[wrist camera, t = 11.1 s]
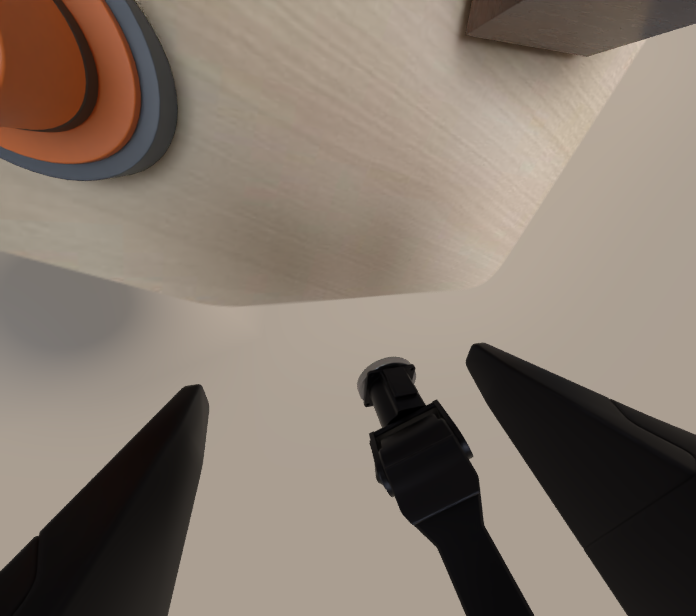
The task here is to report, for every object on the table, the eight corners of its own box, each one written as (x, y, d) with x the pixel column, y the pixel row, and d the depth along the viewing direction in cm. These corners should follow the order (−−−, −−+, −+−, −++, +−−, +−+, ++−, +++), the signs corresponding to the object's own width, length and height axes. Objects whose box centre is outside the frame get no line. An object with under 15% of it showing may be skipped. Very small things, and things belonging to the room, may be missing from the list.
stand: (198, 178, 15) (186, 182, 13) (8, 174, 13) (-42, 178, 11) (139, -64, 10) (106, -117, 8) (-171, -128, 8) (-316, -220, 6)
